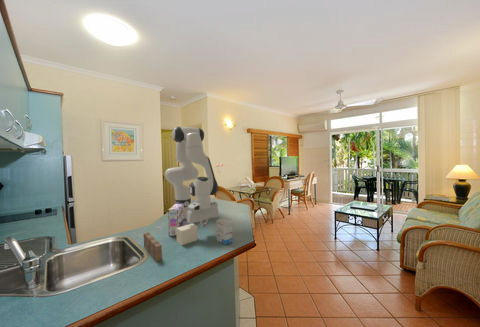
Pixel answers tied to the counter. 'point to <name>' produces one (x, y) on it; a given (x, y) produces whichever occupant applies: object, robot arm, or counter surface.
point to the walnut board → (153, 246)
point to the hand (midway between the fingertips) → (203, 226)
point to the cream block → (187, 234)
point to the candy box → (175, 218)
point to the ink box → (224, 231)
